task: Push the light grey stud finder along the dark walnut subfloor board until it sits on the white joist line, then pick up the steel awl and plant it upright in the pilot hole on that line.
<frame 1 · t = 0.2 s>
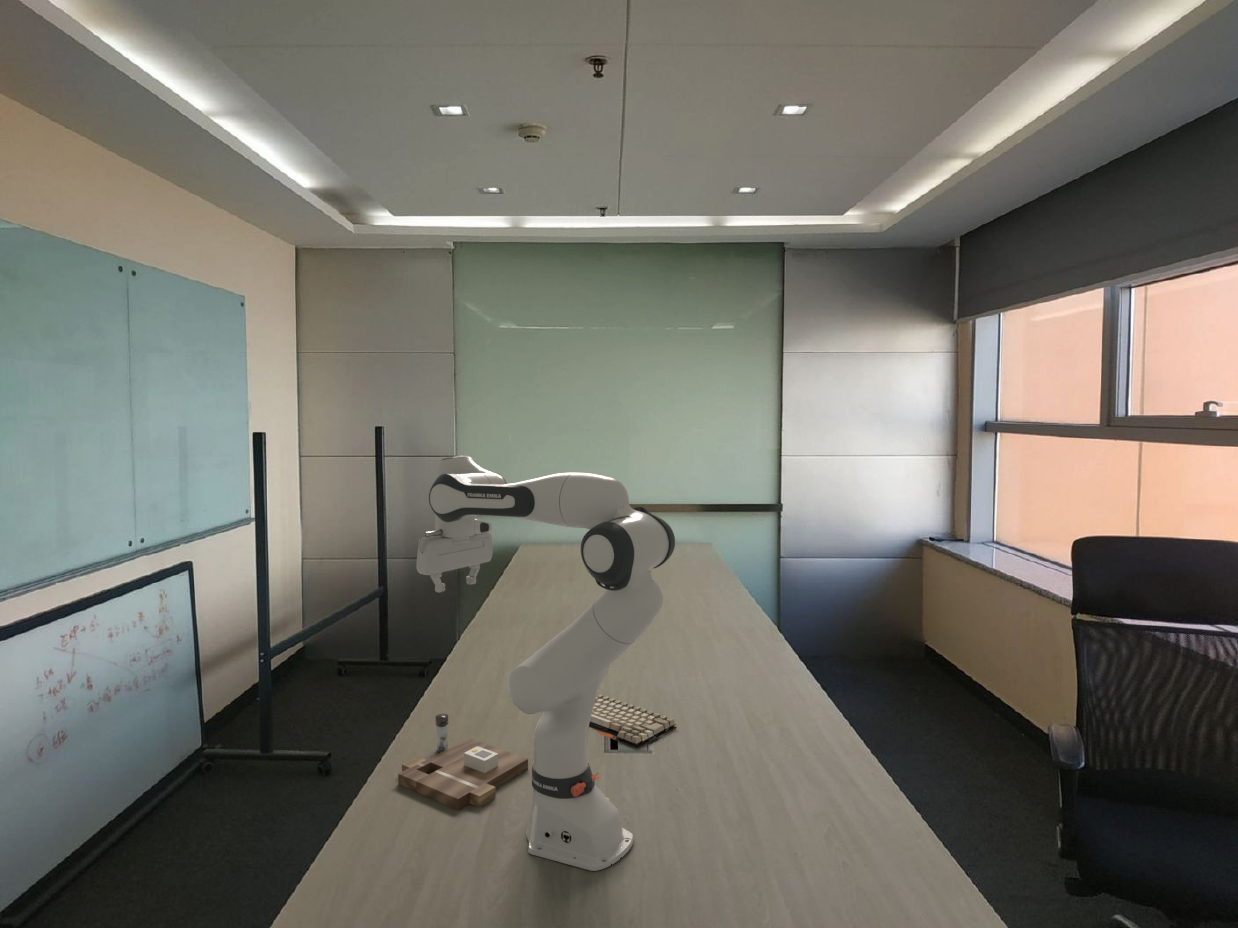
hand: (456, 587, 166), 47 cm above the table, tool pointing down, fingers open, 8 cm apart
mechanical keyboard: (608, 721, 209), on the table
stud finder: (481, 765, 175), point 2 cm above the table, touching subfloor board
subfloor board: (464, 776, 175), on the table
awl: (442, 750, 189), on the table
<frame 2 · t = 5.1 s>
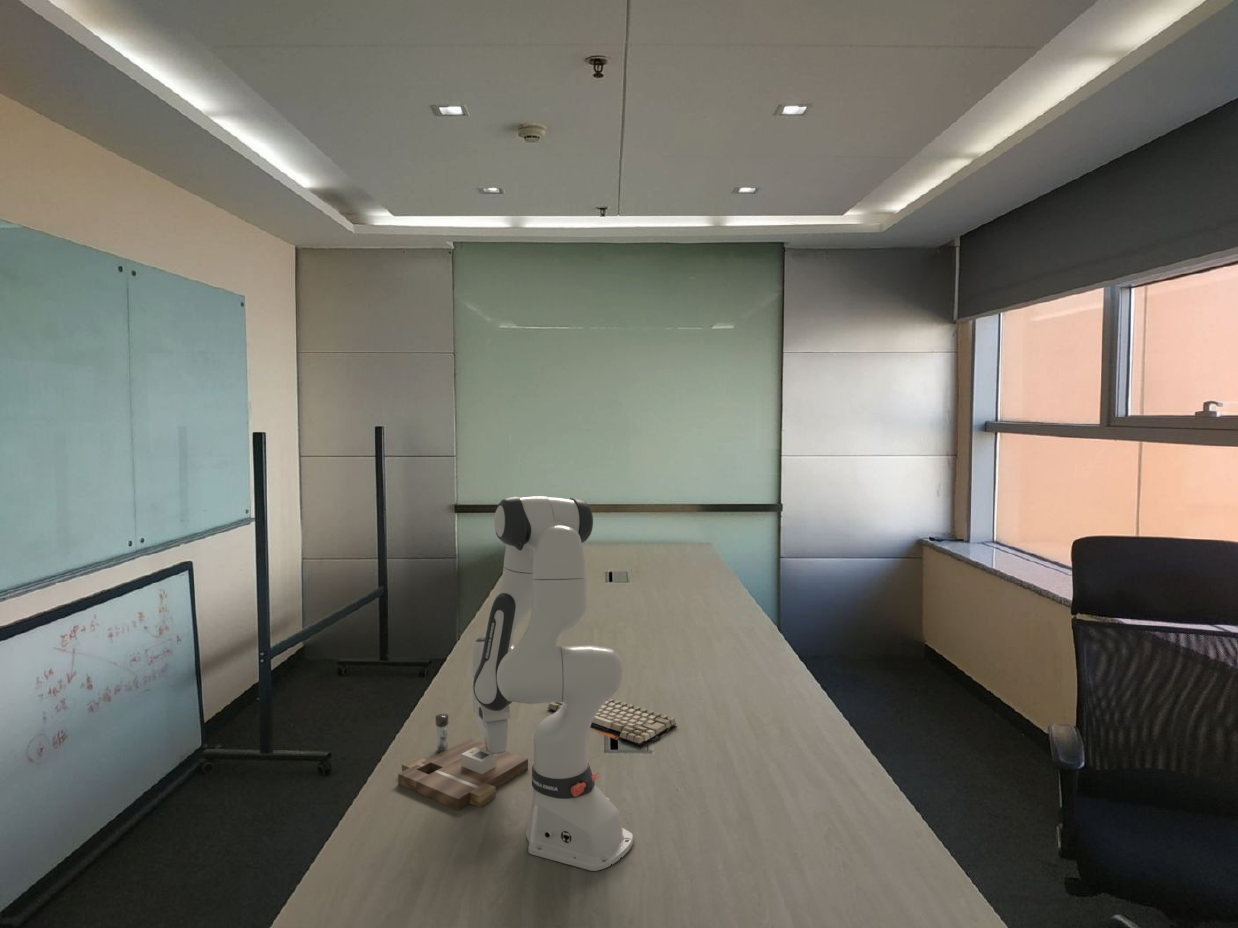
hand: (490, 756, 178), 4 cm above the table, tool pointing down, fingers closed
stud finder: (478, 766, 175), point 3 cm above the table, touching gripper, subfloor board
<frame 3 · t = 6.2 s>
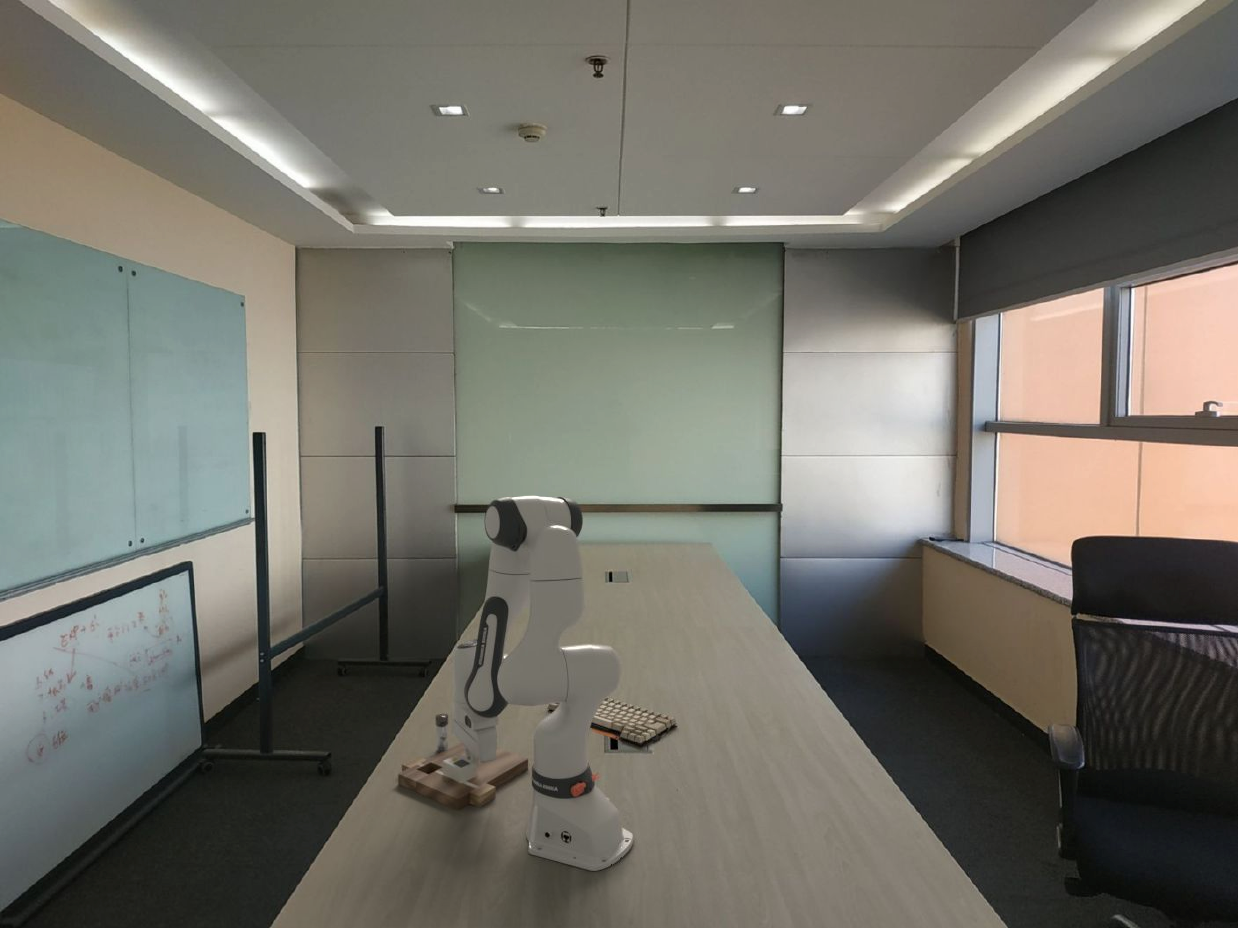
hand: (472, 765, 173), 4 cm above the table, tool pointing down, fingers closed
stud finder: (459, 774, 170), point 3 cm above the table, touching gripper, subfloor board
everything else where it was.
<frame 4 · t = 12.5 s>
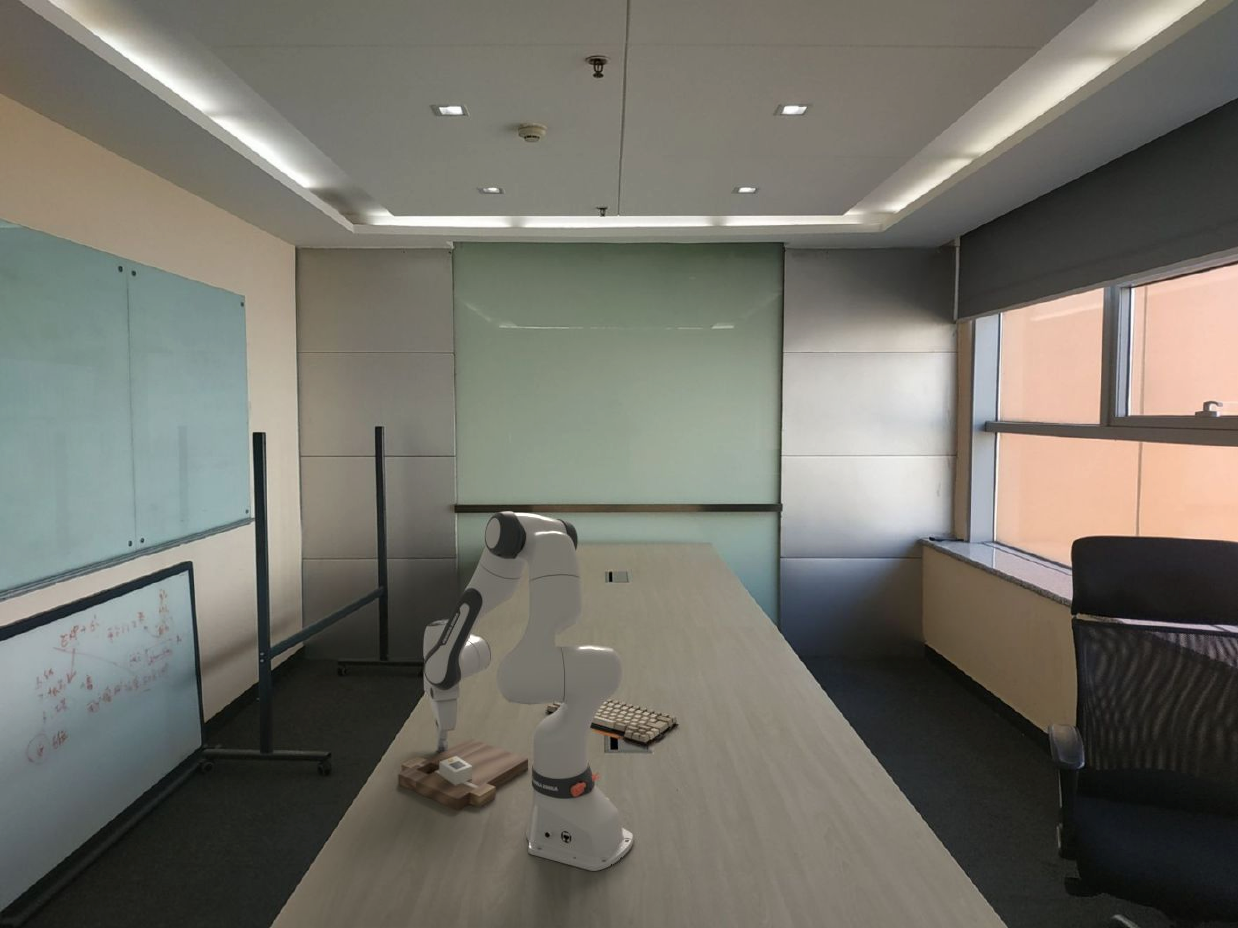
hand: (442, 734, 189), 4 cm above the table, tool pointing down, fingers closed on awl, 3 cm apart
stud finder: (455, 776, 170), point 3 cm above the table, touching subfloor board
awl: (442, 749, 189), on the table, touching gripper
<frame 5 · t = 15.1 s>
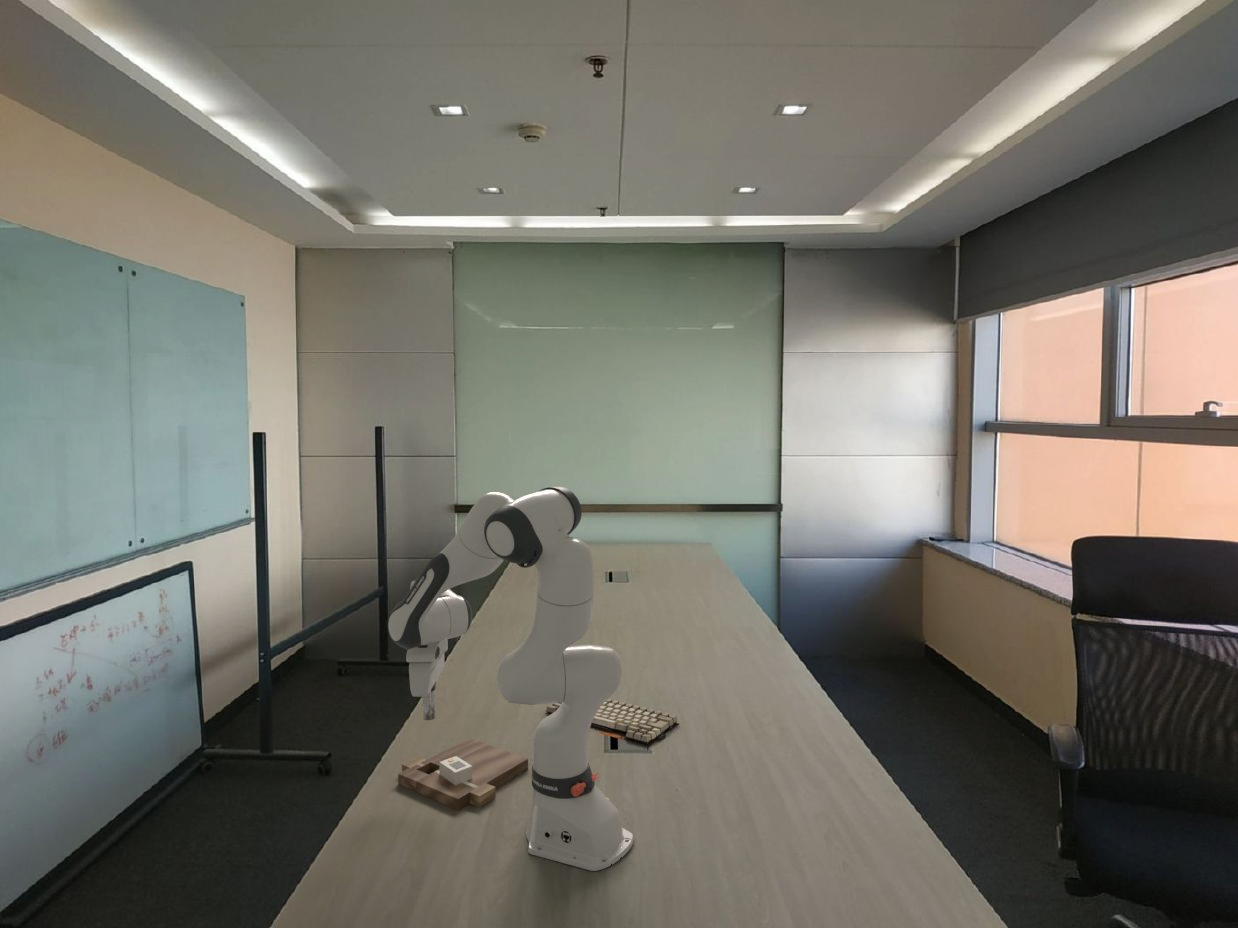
hand: (429, 700, 173), 19 cm above the table, tool pointing down, fingers closed on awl, 3 cm apart
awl: (429, 717, 173), point 15 cm above the table, touching gripper
when the fingers open (6 cm above the table, at t = 17.8 s): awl drops 2 cm, resting in subfloor board.
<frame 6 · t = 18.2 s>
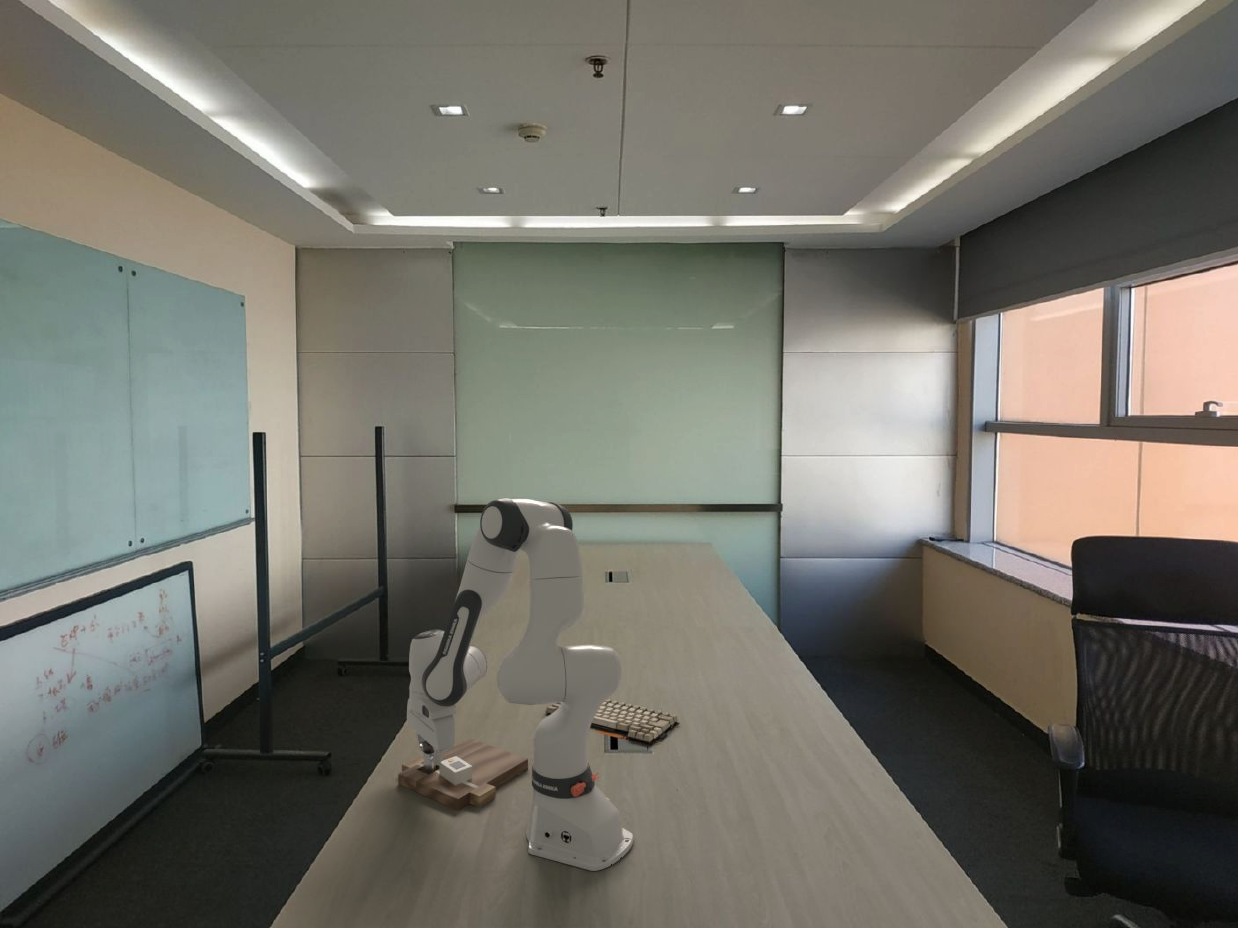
hand: (429, 755, 173), 6 cm above the table, tool pointing down, fingers open, 7 cm apart
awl: (430, 778, 174), resting in subfloor board
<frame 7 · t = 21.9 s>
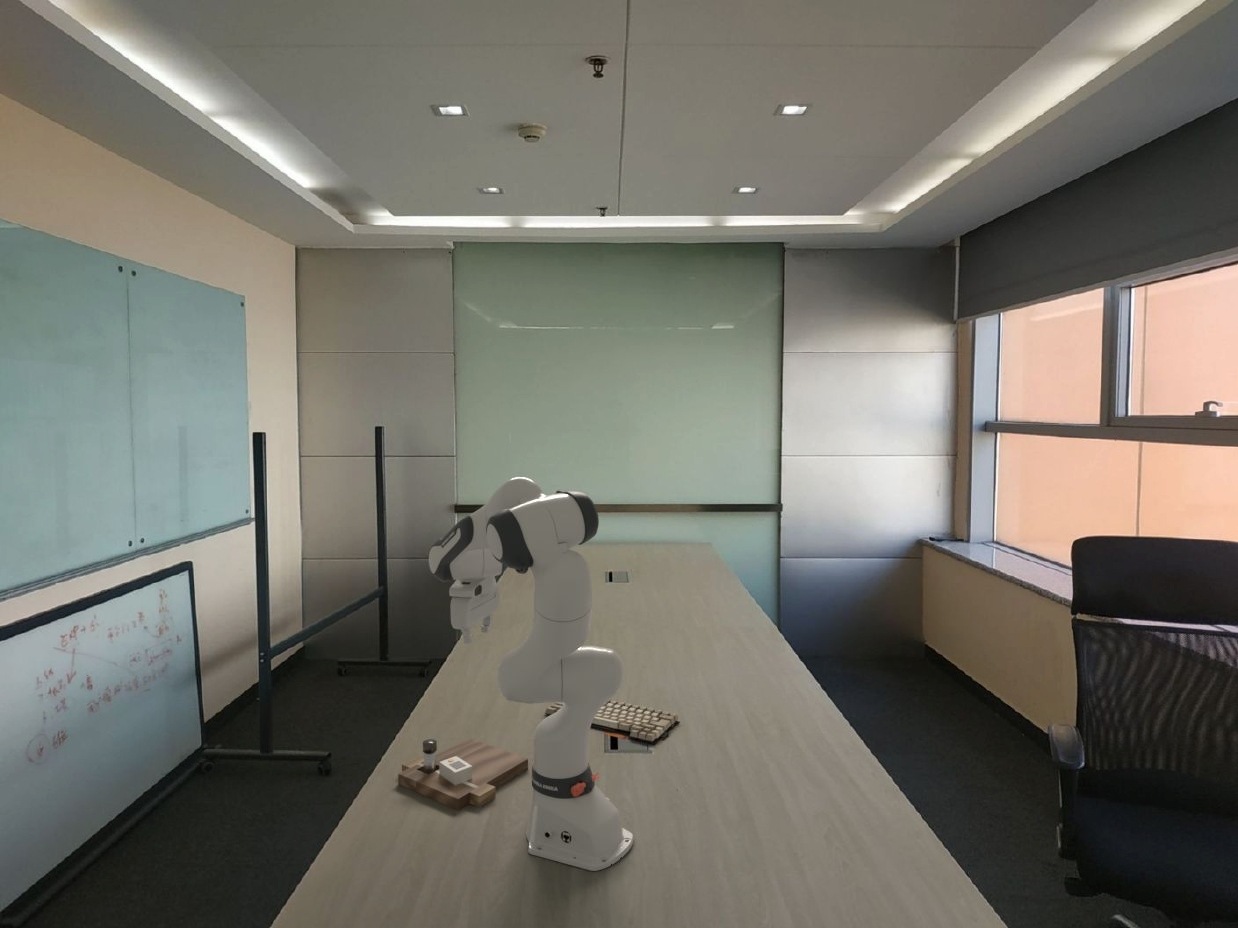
hand: (477, 637, 182), 31 cm above the table, tool pointing down, fingers open, 8 cm apart
at the end: stud finder 1.1 cm from the target spot, point 2.5 cm above the table; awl 0.2 cm from the target spot on the subfloor board, point 0.0 cm above the subfloor board's base; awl tilted 0° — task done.
